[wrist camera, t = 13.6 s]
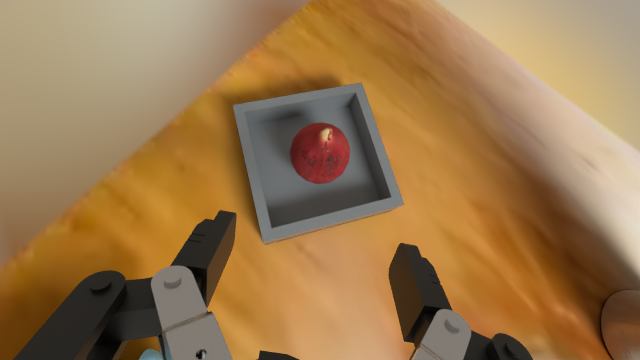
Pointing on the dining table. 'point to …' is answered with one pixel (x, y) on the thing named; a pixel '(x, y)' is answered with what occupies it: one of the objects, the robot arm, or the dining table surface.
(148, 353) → the decorative pot
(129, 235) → the dining table surface
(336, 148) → the onion
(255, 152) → the bin
